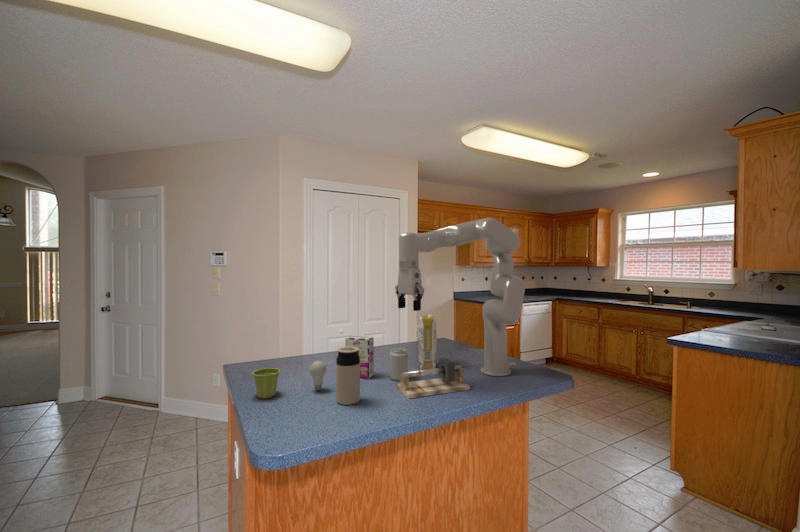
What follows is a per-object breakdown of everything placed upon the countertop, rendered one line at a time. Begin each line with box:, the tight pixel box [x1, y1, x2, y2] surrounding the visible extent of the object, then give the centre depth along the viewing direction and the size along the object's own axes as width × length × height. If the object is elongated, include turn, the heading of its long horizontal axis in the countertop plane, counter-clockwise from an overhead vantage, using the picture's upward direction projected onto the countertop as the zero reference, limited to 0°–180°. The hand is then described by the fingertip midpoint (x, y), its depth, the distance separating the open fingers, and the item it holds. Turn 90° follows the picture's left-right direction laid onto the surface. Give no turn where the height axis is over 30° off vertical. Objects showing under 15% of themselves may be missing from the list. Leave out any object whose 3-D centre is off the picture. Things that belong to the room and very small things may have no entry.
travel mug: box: [335, 346, 361, 406], centre depth 124 cm, size 8×8×18 cm
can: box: [389, 347, 409, 382], centre depth 149 cm, size 8×8×12 cm
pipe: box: [402, 364, 463, 378], centre depth 137 cm, size 24×2×2 cm, turn 112°
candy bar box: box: [345, 335, 375, 380], centre depth 152 cm, size 11×5×16 cm, turn 68°
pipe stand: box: [395, 368, 471, 400], centre depth 137 cm, size 25×12×6 cm, turn 112°
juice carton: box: [418, 314, 437, 370], centre depth 165 cm, size 9×8×24 cm
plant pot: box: [251, 367, 281, 399], centre depth 130 cm, size 9×9×9 cm
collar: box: [438, 357, 456, 382], centre depth 139 cm, size 3×7×7 cm, turn 22°
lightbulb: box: [309, 360, 328, 392], centre depth 134 cm, size 6×6×11 cm
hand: (409, 309), depth 140 cm, fingers open, 9 cm apart
